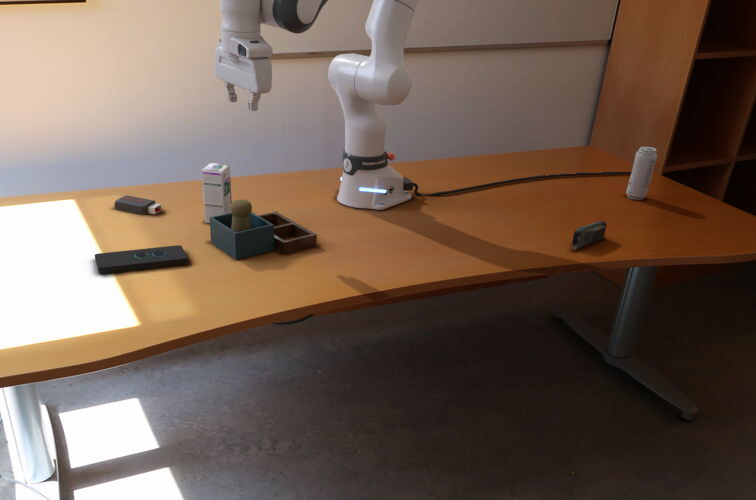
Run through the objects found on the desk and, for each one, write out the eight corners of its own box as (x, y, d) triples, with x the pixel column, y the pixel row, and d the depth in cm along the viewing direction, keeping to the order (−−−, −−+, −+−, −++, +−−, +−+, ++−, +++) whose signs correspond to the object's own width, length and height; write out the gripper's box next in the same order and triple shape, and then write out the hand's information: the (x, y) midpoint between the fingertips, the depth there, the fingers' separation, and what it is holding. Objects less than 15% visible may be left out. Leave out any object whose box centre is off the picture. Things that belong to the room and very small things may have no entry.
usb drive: (126, 202, 204) (125, 193, 203) (163, 210, 201) (162, 200, 199) (114, 208, 200) (113, 198, 199) (152, 216, 197) (151, 206, 195)
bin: (248, 233, 190) (247, 209, 186) (274, 250, 182) (273, 224, 178) (210, 242, 184) (209, 217, 180) (236, 259, 176) (235, 233, 172)
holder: (275, 222, 197) (275, 211, 196) (316, 245, 185) (316, 234, 184) (244, 229, 192) (243, 218, 190) (283, 254, 180) (283, 242, 178)
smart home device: (188, 257, 171) (98, 267, 164) (188, 264, 172) (98, 274, 165) (181, 244, 178) (94, 253, 171) (181, 250, 179) (95, 259, 172)
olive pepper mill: (252, 249, 180) (251, 206, 174) (227, 248, 180) (226, 204, 174) (255, 239, 185) (255, 197, 179) (231, 238, 185) (230, 196, 179)
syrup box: (225, 225, 194) (223, 171, 186) (204, 223, 194) (201, 168, 187) (232, 218, 198) (230, 164, 191) (211, 215, 199) (209, 162, 192)
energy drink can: (628, 192, 233) (641, 144, 225) (648, 197, 230) (661, 148, 222) (622, 197, 228) (635, 148, 221) (642, 201, 226) (655, 152, 218)
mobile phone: (599, 218, 198) (569, 229, 189) (609, 221, 196) (580, 233, 187) (595, 235, 200) (565, 248, 191) (605, 239, 199) (576, 251, 189)
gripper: (206, 37, 174) (209, 98, 181) (252, 51, 160) (253, 116, 167) (230, 35, 177) (232, 95, 184) (276, 49, 163) (277, 113, 171)
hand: (242, 105), depth 176 cm, fingers open, 8 cm apart
